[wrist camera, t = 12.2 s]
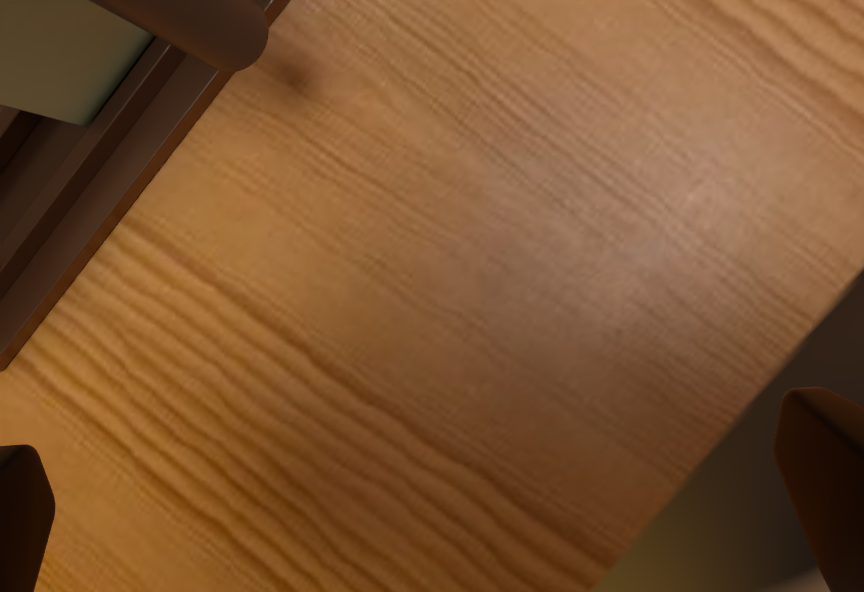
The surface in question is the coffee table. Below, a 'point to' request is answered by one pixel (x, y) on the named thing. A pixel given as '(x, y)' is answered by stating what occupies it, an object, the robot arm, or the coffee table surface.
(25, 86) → the door
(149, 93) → the door frame
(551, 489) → the coffee table surface
